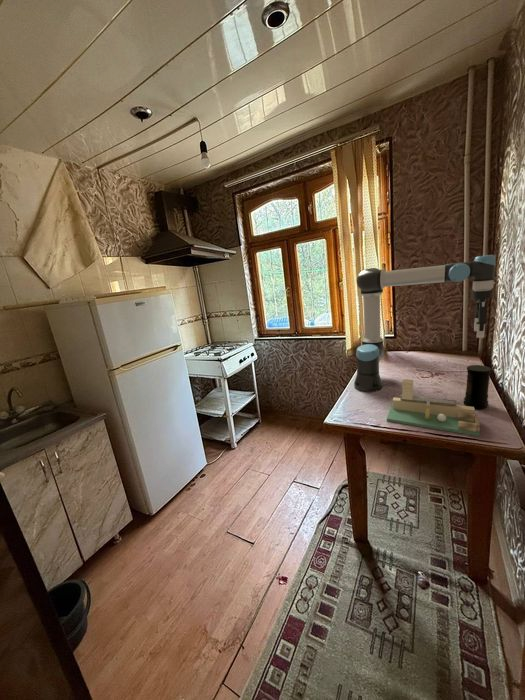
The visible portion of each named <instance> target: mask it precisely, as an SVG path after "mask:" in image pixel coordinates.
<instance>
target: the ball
mask: <svg viewBox="0 0 525 700" xmlns="http://www.w3.org/2000/svg"><path fill="white" fill-rule="evenodd" d="M437 419H438V420H439V421H441V422H444V421H445V420H446V416H445V415H444V414H438V415H437Z"/></svg>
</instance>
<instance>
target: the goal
mask: <svg viewBox="0 0 525 700" xmlns="http://www.w3.org/2000/svg"><path fill="white" fill-rule="evenodd" d="M457 420H462V421H459V422H458V429H461V430H468V431H474V432H479V433H480V429H481V424H480V418H479V415H478V414H475V413H474V414H468V413H461V412H458V415H457ZM463 421H469V422H463ZM470 422H474V423H470Z"/></svg>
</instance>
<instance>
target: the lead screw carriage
mask: <svg viewBox="0 0 525 700" xmlns="http://www.w3.org/2000/svg"><path fill="white" fill-rule="evenodd" d="M414 383H415V381H414V379H407V378H403V379H402V388H401V389H402V393H400V394H399V398H400V399H401V400H409V401H417V402H426V413H425V419H426V420H429V415H430V403H434V404H442V405H450V406H456V405H458V404H457V403H458V402H457V400H456V399H447V398H439V397H437V398H436V397H429V396H420V395H414Z"/></svg>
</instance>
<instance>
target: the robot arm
mask: <svg viewBox="0 0 525 700" xmlns="http://www.w3.org/2000/svg"><path fill="white" fill-rule="evenodd" d="M495 272H496V255H495V254H487V255H486V254H485V255H478V256H476V257H474V259H473V260H472V261H466V262H465V261H463V262H455V263H454V262H453V263H447V264H442V265H434V266H433V265H432V266H423V267H422V266H421V267H415V268H414V267H412V268H404V269H395V270H386V271H385V270H384V269H380V268H376V267H370V268H366V269H363V270H362V271H360V272H359V273H358V275H357V276H356V285H357V287H358V288H359V289H360V295H361V296H362V297H363V319H364V321H363V322H364V337H363V338H362V340H361V345H359V346H358V347H357V348H356V352H355V356H356V357H355V358H356V377H355V379H354V383H353V385H354V388H355V389H356V390H358V391H360V392H365V393H367V392H368V393H370V392H371V393H373V392H377V391H381V390H383V387H384V384H383V383H384V382H383V380H382V378H381V376H380V361H381V360H382V358H383V357H384V354H385V353H386V352H385V351H386V349H385V345H384V339H383V337H381V295H382V294H383V292H384V289H385V288H386V287H396V286H397V287H398V286H400V287H401V286H411V285H412V286H413V285H425V284H436V283H437V284H438V283H449V282H455V283H456V282H457V283H459V282H464V281H465V280H466V279H473V280H472V289H471V290H472V293H471V299H472V300H476V302H475V312H474V325H473V326H474V327H473V332H476V339H477V338H478V339H479V338H480V339H481V338H482V339H484V338H485V331H486V324H487V310H488V309H487V307H488V302H487V301H486V300H489V299H492V298H493V294H494V293H493V292H494V291H493V289H494V285H495V284H496V281H494V280H495Z"/></svg>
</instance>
